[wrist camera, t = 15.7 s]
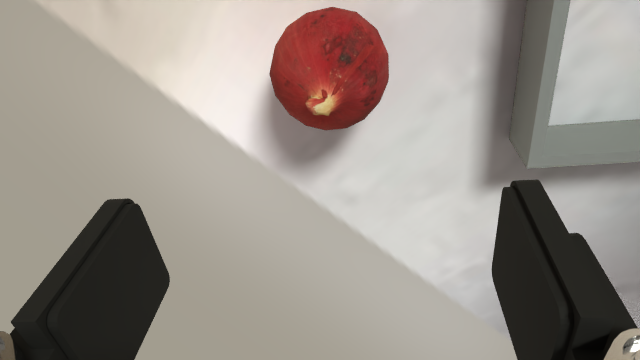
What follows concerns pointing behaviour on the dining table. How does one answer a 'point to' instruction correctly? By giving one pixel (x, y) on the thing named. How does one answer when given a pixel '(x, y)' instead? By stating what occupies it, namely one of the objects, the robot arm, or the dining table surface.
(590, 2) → the dining table surface
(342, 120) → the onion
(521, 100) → the grey bin
